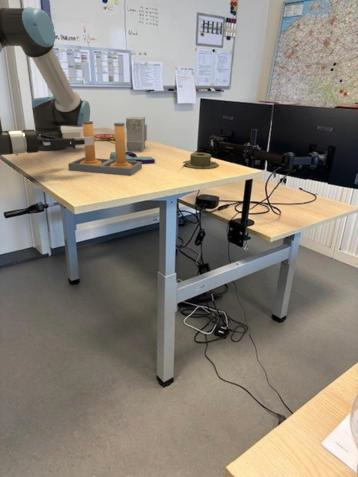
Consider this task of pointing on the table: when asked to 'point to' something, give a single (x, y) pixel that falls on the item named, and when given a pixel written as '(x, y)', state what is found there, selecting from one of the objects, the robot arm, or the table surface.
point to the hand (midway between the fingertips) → (86, 137)
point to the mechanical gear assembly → (105, 137)
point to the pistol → (134, 158)
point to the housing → (105, 167)
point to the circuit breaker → (136, 134)
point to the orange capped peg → (120, 147)
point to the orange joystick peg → (89, 148)
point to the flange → (200, 161)
